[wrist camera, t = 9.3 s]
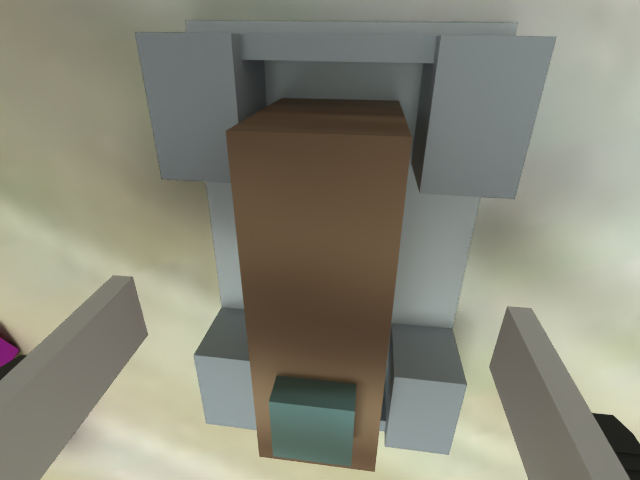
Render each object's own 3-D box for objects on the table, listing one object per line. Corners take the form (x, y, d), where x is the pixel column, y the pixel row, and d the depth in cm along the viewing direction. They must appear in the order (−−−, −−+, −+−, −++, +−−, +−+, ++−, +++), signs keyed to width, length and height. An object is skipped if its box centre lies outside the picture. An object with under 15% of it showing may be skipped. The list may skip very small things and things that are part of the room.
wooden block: (281, 98, 17) (208, 140, 10) (399, 100, 16) (416, 148, 9) (291, 345, 23) (251, 484, 16) (375, 354, 23) (374, 501, 15)
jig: (191, 21, 16) (131, 14, 12) (512, 23, 15) (561, 16, 11) (233, 369, 26) (207, 429, 22) (435, 391, 24) (447, 460, 20)
